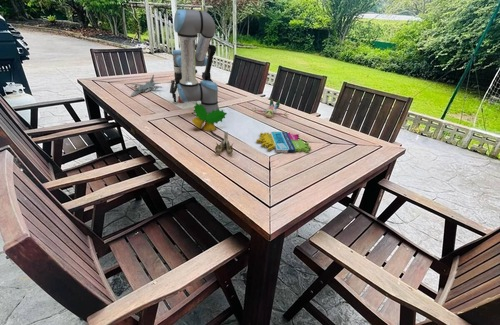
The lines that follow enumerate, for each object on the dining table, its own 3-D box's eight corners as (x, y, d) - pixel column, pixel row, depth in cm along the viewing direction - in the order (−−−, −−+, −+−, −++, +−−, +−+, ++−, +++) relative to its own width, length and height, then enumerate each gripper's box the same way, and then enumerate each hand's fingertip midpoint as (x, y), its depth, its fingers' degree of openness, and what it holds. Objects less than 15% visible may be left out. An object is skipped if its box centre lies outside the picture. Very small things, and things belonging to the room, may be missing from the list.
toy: (292, 100, 208) (288, 110, 182) (291, 109, 211) (287, 120, 186) (258, 96, 213) (250, 105, 187) (258, 105, 216) (249, 115, 190)
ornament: (218, 133, 171) (224, 110, 169) (221, 134, 163) (227, 111, 161) (186, 125, 162) (192, 101, 160) (189, 126, 155) (195, 101, 153)
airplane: (124, 86, 239) (122, 75, 233) (160, 84, 252) (158, 73, 247) (129, 98, 210) (126, 86, 205) (168, 95, 223) (167, 83, 218)
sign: (313, 150, 142) (258, 149, 139) (312, 153, 143) (258, 152, 140) (301, 132, 164) (254, 130, 161) (301, 134, 165) (254, 133, 162)
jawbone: (234, 135, 144) (233, 125, 135) (233, 160, 138) (232, 151, 129) (217, 135, 144) (216, 125, 135) (216, 160, 138) (214, 150, 129)
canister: (183, 101, 212) (183, 95, 210) (184, 102, 208) (184, 97, 206) (178, 101, 210) (177, 95, 208) (179, 102, 207) (178, 97, 205)
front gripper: (189, 70, 208) (190, 97, 219) (162, 72, 193) (165, 101, 204) (194, 71, 203) (195, 99, 214) (168, 74, 189) (170, 104, 199)
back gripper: (179, 65, 217) (181, 84, 225) (199, 64, 227) (200, 82, 235) (174, 63, 225) (175, 81, 232) (194, 62, 235) (194, 79, 242)
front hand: (181, 100), depth 209 cm, fingers open, 10 cm apart
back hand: (186, 81), depth 235 cm, fingers open, 9 cm apart
